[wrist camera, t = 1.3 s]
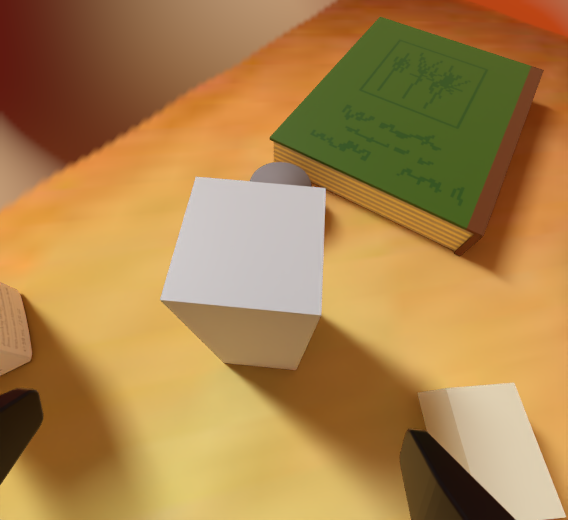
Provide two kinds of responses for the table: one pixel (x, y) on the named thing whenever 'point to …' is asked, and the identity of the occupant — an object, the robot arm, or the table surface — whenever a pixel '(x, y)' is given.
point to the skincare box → (13, 331)
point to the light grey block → (250, 270)
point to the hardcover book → (413, 130)
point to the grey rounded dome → (281, 174)
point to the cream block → (494, 446)
